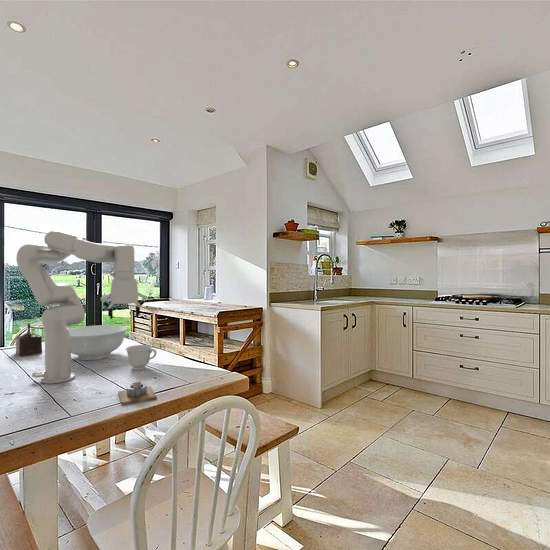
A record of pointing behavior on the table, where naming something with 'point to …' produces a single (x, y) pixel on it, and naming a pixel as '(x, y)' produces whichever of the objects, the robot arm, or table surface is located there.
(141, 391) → the ring
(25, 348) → the dark boxy spouted shape
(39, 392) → the table surface
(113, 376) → the table surface
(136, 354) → the teacup
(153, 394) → the brown base with peg
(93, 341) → the bowl
